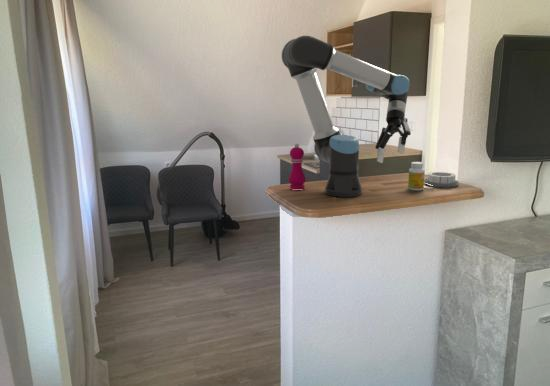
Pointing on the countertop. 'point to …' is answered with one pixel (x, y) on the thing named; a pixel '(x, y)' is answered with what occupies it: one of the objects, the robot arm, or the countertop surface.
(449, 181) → the bottle holder
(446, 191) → the countertop surface
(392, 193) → the countertop surface
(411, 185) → the supplement bottle
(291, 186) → the pepper mill
